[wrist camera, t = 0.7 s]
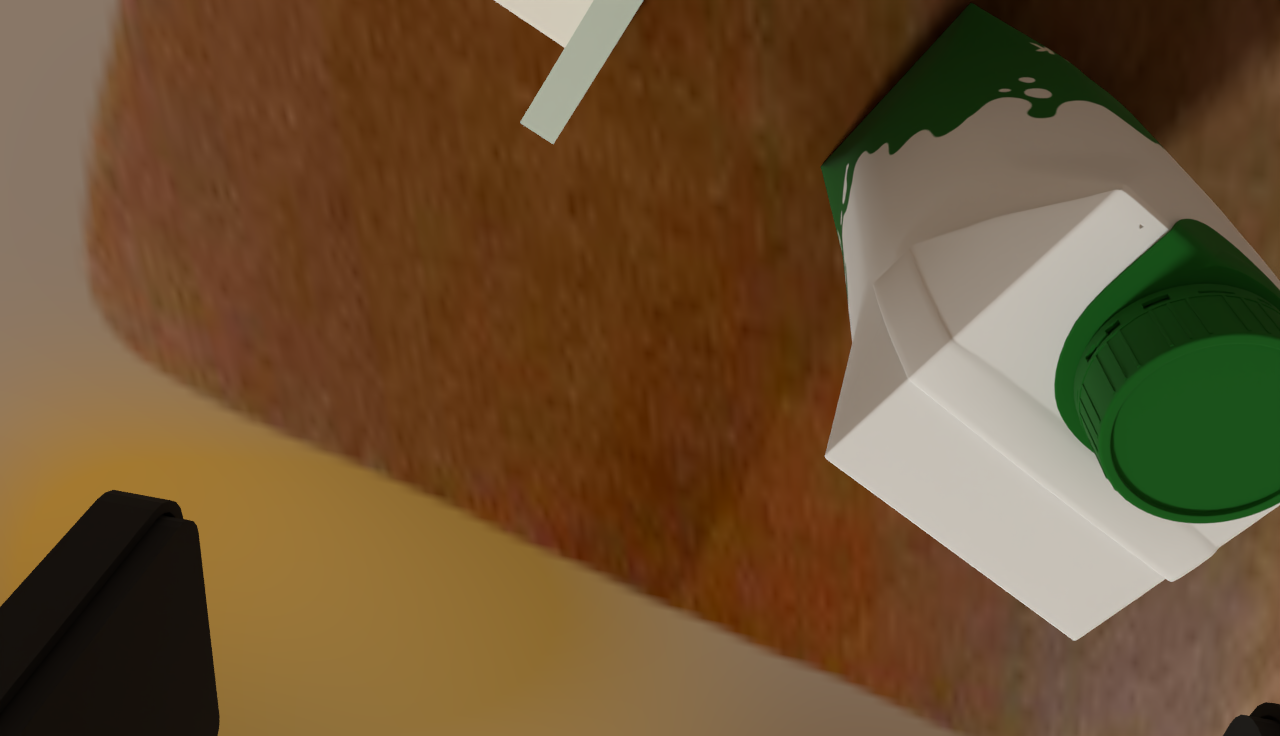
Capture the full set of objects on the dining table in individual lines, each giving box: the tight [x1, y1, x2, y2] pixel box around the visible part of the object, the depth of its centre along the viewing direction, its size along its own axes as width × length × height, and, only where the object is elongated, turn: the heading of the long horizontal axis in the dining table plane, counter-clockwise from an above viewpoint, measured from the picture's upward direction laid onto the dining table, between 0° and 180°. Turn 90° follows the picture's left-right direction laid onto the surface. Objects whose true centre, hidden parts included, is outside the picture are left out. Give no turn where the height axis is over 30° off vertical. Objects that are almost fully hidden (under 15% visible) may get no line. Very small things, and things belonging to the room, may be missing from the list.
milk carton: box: [821, 3, 1280, 641], centre depth 29 cm, size 9×9×20 cm
